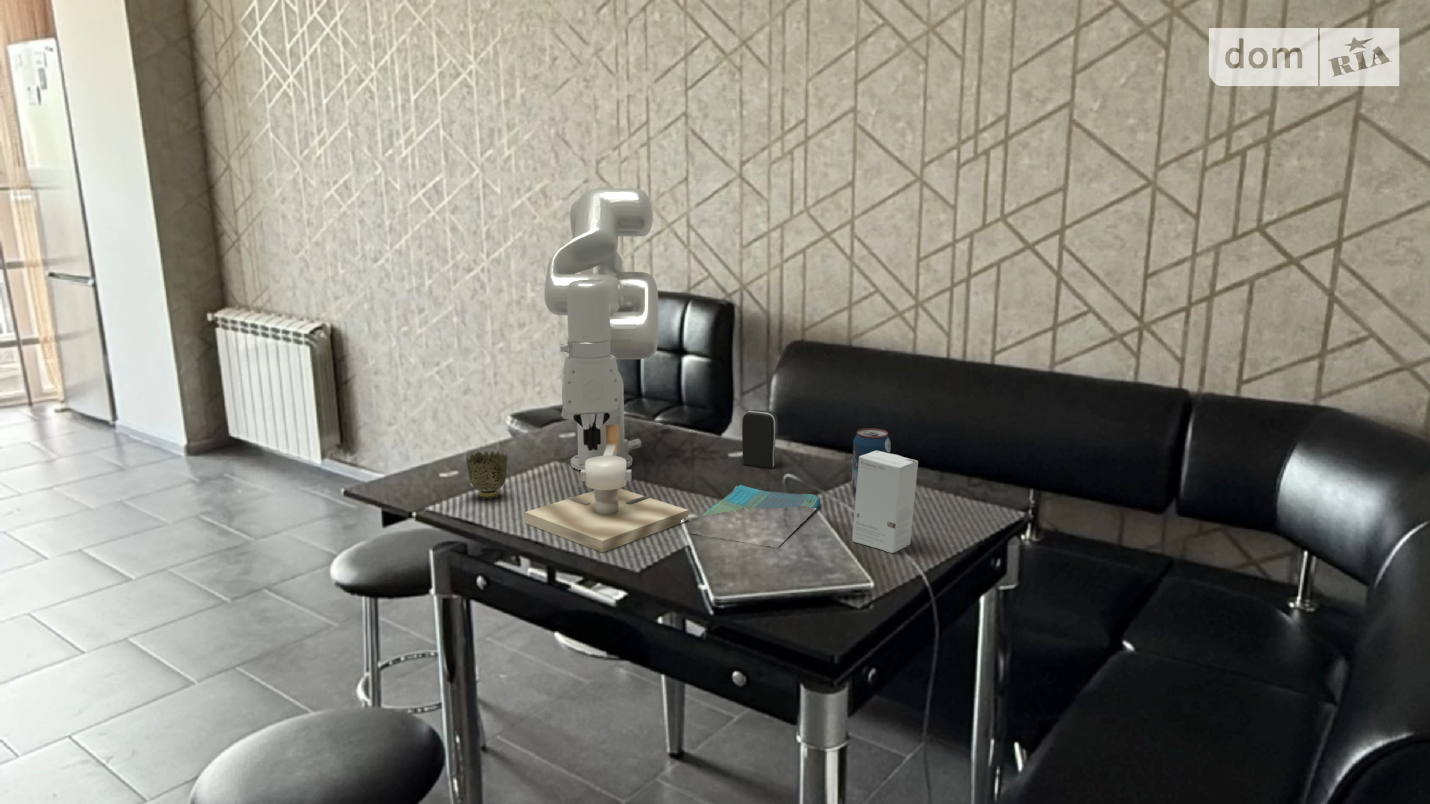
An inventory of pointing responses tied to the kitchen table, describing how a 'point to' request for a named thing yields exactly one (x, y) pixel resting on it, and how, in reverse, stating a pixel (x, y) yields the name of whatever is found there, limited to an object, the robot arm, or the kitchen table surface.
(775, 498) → the dish towel
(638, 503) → the post board
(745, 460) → the battery charger
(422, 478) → the kitchen table surface
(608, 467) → the crank handle
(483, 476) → the cup
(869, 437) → the soda can
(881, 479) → the skincare box
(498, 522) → the kitchen table surface
